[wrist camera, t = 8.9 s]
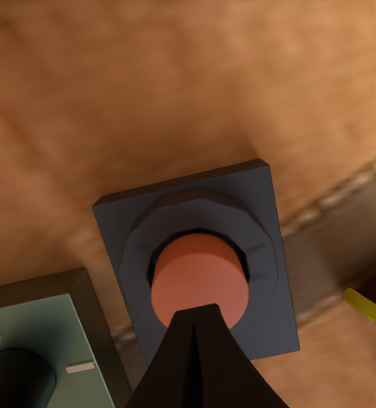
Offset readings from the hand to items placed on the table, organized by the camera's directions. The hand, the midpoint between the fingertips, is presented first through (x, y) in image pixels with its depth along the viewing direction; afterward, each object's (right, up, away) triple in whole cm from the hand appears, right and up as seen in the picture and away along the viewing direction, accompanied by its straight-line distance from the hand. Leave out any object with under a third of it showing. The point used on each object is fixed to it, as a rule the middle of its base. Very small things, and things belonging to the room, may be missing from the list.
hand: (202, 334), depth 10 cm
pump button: (0, +1, +4) cm, 4 cm away
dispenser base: (0, +1, +7) cm, 7 cm away
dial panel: (-9, -5, +9) cm, 13 cm away
